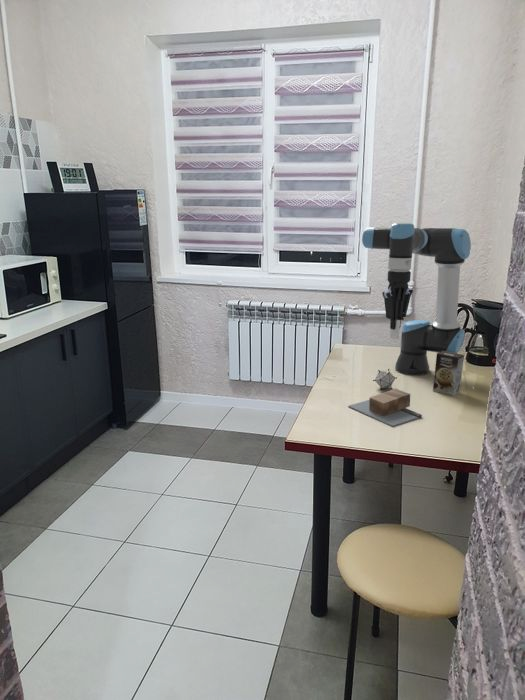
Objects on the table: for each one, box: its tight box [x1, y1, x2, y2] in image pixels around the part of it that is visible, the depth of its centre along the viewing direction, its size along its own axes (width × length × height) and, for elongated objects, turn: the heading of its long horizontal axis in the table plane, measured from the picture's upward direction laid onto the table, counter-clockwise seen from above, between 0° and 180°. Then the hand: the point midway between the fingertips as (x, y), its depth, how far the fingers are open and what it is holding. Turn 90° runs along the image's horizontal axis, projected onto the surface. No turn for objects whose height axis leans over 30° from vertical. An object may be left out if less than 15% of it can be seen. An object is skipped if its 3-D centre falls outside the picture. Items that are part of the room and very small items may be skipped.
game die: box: [372, 368, 398, 390], centre depth 213 cm, size 9×8×10 cm
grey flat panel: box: [348, 399, 423, 428], centre depth 189 cm, size 15×22×1 cm
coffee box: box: [432, 351, 465, 397], centre depth 208 cm, size 9×6×16 cm
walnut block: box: [368, 388, 411, 416], centre depth 190 cm, size 5×7×14 cm
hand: (394, 337), depth 180 cm, fingers closed
